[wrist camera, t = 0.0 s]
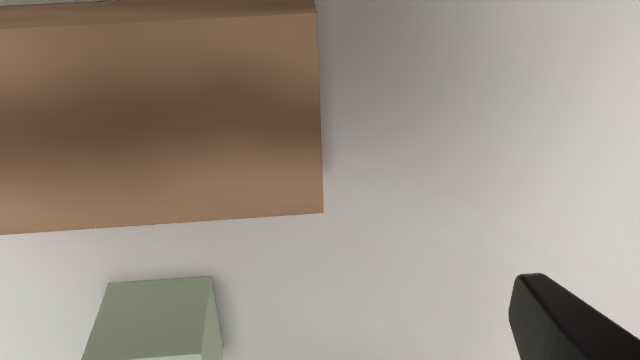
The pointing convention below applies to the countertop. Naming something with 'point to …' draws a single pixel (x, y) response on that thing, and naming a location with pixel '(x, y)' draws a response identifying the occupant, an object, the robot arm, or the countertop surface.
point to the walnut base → (158, 113)
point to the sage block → (157, 321)
